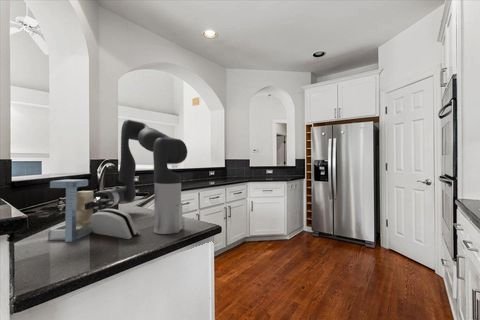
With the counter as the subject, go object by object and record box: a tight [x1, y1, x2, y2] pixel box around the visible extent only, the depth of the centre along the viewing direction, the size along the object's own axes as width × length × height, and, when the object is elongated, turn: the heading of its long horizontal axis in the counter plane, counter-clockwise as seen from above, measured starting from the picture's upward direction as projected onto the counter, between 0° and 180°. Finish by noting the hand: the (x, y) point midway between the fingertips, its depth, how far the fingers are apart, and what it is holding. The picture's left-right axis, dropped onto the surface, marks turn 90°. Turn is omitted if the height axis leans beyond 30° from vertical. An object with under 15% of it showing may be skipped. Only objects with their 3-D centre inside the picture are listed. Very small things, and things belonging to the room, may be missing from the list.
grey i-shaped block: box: [47, 179, 93, 243], centre depth 79 cm, size 9×11×18 cm
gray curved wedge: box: [90, 208, 141, 240], centre depth 81 cm, size 17×5×10 cm, turn 67°
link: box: [76, 190, 94, 227], centre depth 87 cm, size 4×4×12 cm
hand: (79, 206), depth 84 cm, fingers closed on link, 4 cm apart
